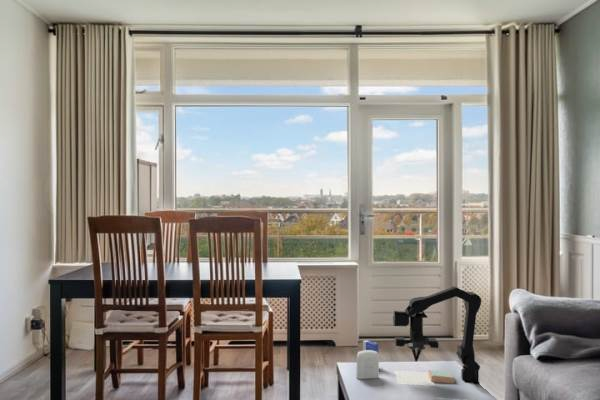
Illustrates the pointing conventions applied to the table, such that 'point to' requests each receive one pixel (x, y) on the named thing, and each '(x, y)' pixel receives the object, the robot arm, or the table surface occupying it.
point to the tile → (441, 376)
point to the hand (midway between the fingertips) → (416, 361)
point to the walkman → (370, 346)
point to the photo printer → (367, 364)
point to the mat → (413, 378)
